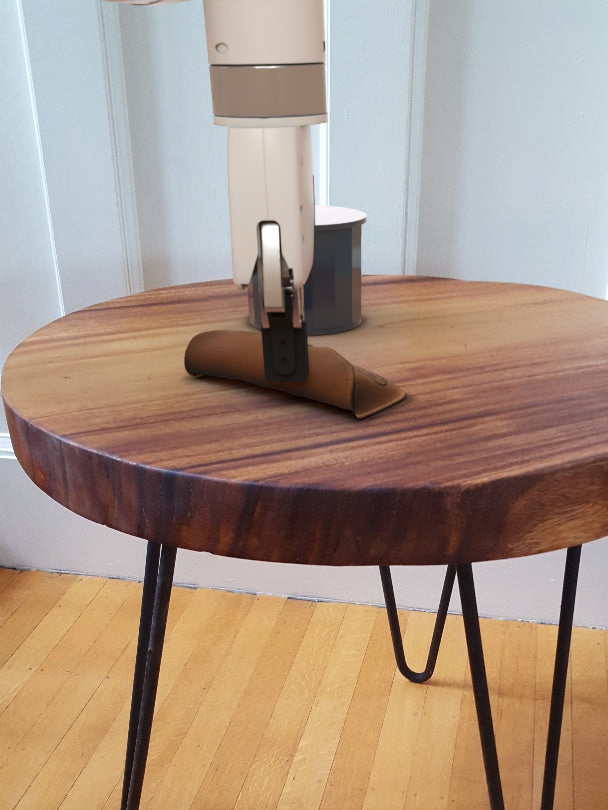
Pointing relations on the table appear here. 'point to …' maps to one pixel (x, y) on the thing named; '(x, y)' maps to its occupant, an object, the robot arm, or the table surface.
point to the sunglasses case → (325, 382)
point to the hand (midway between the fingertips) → (287, 378)
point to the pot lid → (336, 216)
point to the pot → (327, 284)
